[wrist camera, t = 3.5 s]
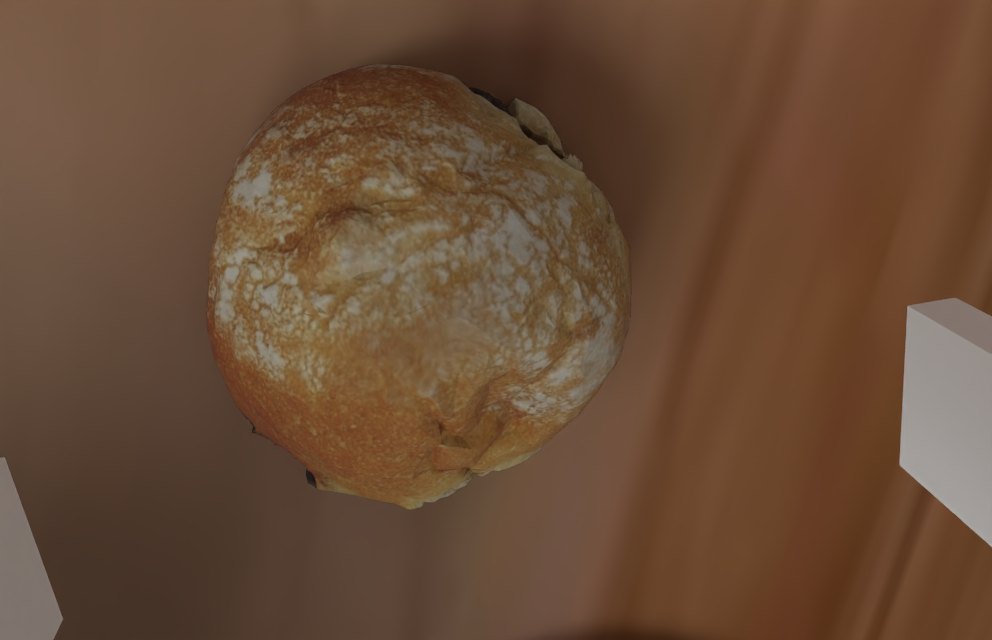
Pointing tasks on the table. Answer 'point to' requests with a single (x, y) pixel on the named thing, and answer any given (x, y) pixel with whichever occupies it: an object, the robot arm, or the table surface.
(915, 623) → the table surface
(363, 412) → the bread roll
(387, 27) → the table surface
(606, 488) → the table surface
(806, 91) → the table surface
